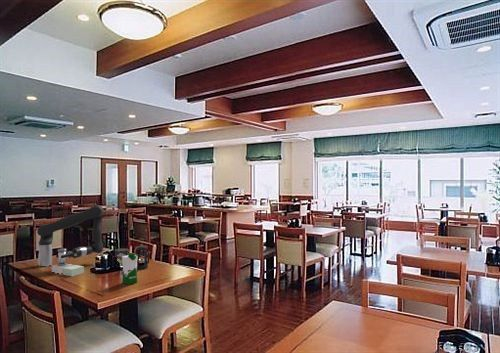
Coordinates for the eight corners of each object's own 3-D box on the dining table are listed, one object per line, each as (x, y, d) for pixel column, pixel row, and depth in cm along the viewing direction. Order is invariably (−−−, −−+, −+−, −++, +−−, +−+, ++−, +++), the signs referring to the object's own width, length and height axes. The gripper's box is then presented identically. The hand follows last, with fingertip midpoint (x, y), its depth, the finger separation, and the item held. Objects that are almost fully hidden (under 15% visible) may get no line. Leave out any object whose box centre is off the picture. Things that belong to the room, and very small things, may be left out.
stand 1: (51, 272, 265) (51, 265, 265) (64, 269, 274) (64, 263, 274) (60, 274, 260) (60, 267, 260) (72, 271, 269) (72, 264, 269)
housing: (55, 265, 266) (55, 249, 266) (63, 263, 271) (63, 248, 271) (61, 266, 263) (60, 250, 263) (68, 264, 268) (68, 248, 268)
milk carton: (127, 285, 232) (127, 255, 232) (120, 283, 238) (120, 253, 238) (139, 282, 239) (139, 252, 239) (131, 280, 245) (131, 251, 245)
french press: (139, 270, 270) (139, 240, 270) (132, 268, 276) (132, 239, 276) (152, 267, 280) (152, 238, 280) (144, 265, 285) (144, 237, 285)
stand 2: (62, 274, 259) (62, 267, 259) (75, 271, 268) (75, 264, 268) (71, 276, 254) (71, 269, 254) (83, 273, 263) (83, 266, 263)
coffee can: (128, 268, 276) (128, 250, 276) (114, 269, 273) (114, 251, 273) (129, 265, 286) (129, 248, 286) (115, 266, 283) (115, 248, 283)
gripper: (73, 246, 283) (52, 250, 268) (85, 248, 276) (65, 252, 261) (73, 256, 283) (52, 260, 268) (85, 257, 276) (65, 262, 261)
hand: (58, 256), depth 265 cm, fingers closed on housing, 5 cm apart
